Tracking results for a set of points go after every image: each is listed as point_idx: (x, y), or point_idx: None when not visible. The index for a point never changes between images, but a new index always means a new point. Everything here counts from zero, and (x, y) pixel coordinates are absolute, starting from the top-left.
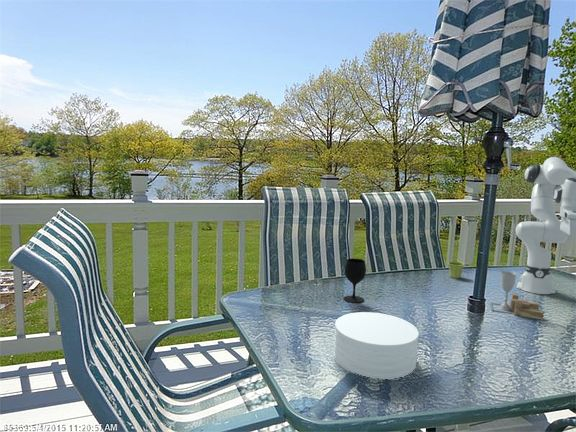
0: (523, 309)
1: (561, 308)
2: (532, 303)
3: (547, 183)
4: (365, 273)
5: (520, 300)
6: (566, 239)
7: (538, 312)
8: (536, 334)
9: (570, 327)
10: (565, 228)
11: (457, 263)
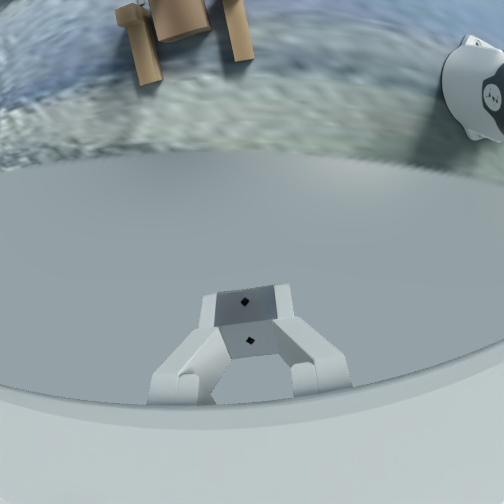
0: (135, 31)
1: (320, 129)
2: (237, 42)
3: None
4: None
5: (192, 7)
6: (208, 326)
7: (137, 72)
8: (29, 101)
9: (133, 152)
10: (184, 490)
11: None
